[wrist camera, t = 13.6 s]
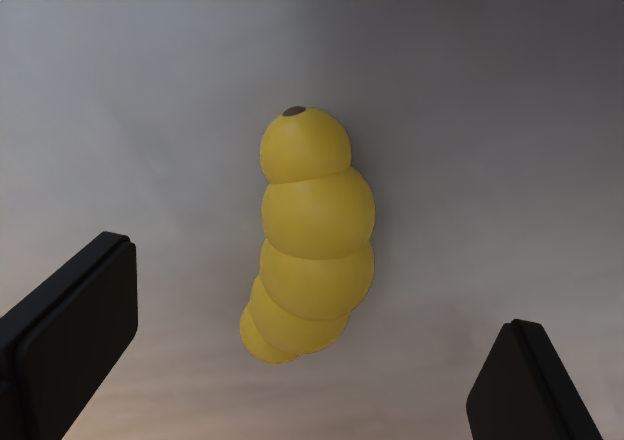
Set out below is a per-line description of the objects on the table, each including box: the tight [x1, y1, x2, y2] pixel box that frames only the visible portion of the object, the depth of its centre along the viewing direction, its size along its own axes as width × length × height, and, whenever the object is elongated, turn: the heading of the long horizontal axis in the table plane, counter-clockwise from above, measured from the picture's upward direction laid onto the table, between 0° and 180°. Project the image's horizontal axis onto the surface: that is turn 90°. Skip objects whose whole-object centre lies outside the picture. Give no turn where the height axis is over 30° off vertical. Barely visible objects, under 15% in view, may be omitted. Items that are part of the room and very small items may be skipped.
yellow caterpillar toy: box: [240, 106, 376, 364], centre depth 13 cm, size 9×4×3 cm, turn 170°
